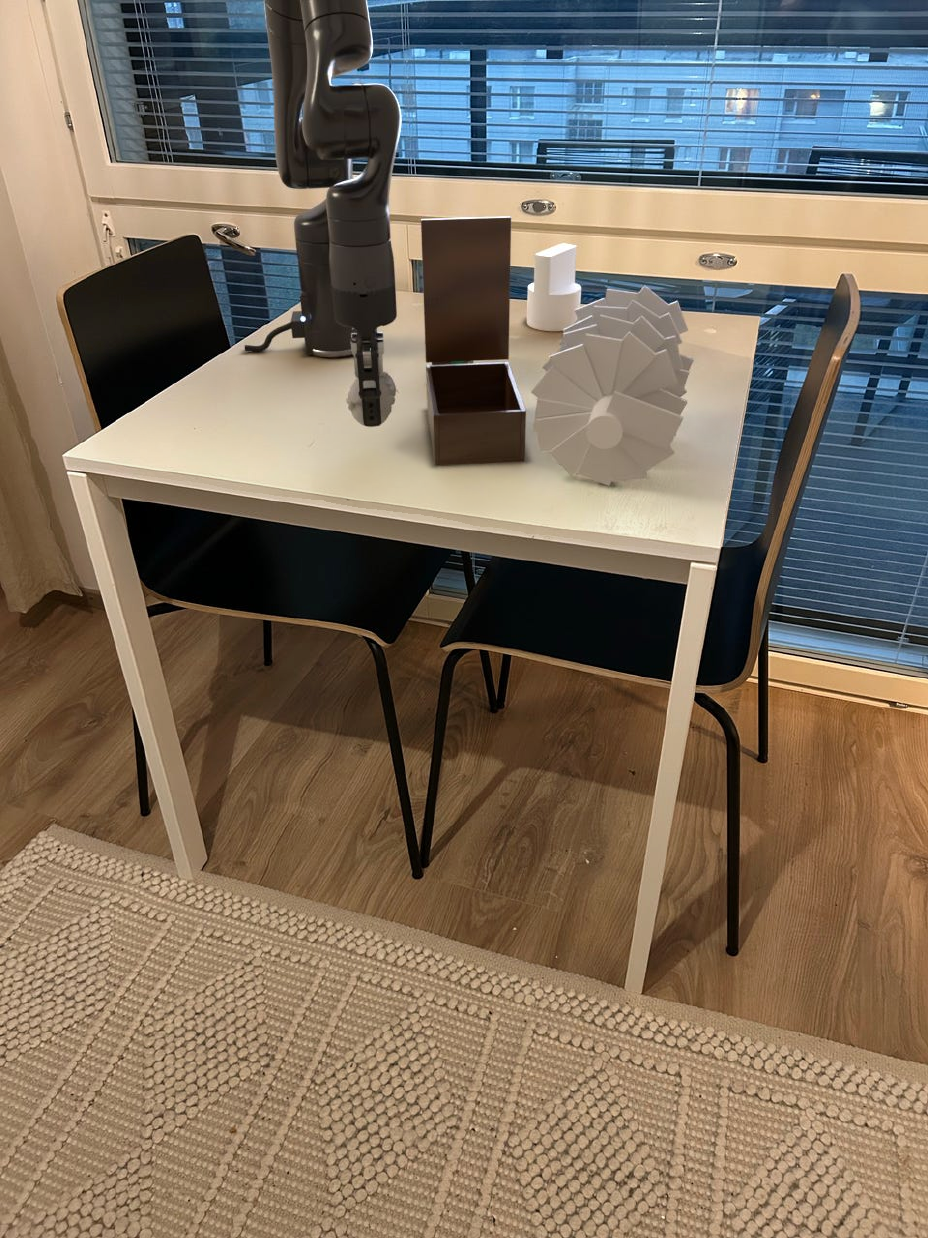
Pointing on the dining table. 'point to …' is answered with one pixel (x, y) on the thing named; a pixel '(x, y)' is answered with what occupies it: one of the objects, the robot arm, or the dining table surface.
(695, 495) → the dining table surface
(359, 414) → the grey rounded lumpy piece
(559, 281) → the base with upright slab
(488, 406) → the chest
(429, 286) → the chest lid
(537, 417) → the spiral staircase
